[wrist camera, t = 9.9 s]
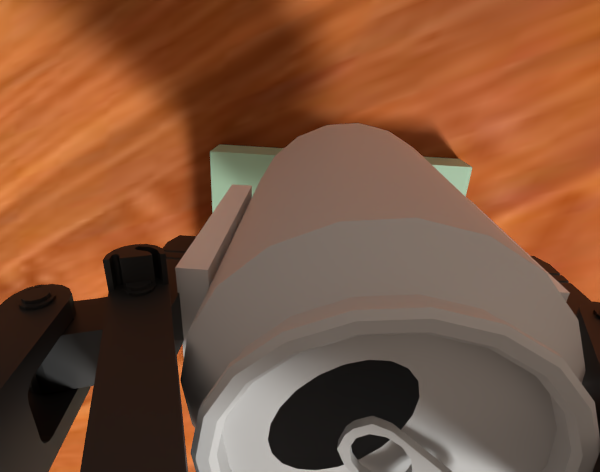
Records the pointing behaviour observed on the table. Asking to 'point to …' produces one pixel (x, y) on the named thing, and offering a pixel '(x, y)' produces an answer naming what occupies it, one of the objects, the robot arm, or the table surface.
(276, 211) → the can
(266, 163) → the board
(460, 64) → the table surface
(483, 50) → the table surface
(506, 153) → the table surface
